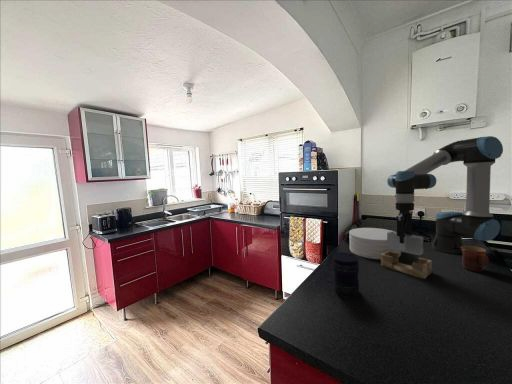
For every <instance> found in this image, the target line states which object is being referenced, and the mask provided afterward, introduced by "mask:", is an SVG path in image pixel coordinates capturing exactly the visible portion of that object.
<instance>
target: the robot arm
mask: <svg viewBox="0 0 512 384" xmlns="http://www.w3.org/2000/svg"><path fill="white" fill-rule="evenodd" d="M503 152H504V146H503V144H502V142H501V140H499V138H497V137H496V136H492V135H491V136H480V137H479V136H478V137H473V138H467V139H461V140H456V141H454V142H451V143H448V144H447V145H445V146H443V147H441V148H439V149H437V150H435V151H434V152H433V153H432V154H431V155H430V156H428V157H426V158H425V159H423V160H421V161H419V162H418V163H416V164H414V165H412V166H411V167H409V168H407V169H405V170H399V171H397V172H395V174H391V175H389V176H388V177H387V180H386V181H387V185H388V187H390V188H394V189H395V194H394V197H395V201H396V202H395V210H396V211H398V215H396V217H395V218H396V232H397V236H399V249H402V250H406V237H405V234H409V235H413V231H412V230H413V229H412V228H413V220H412V219H413V213H412V211H415V203H414V202H415V190H424V189H425V190H427V189H432V188H434V187H435V186H436V184H437V178H436V176H435V175H433V174H431V172H433V171H434V170H437V168H439V167H441V166H446V165H449V164H450V163H451V164H452V163H456V162H462V163H463V164H462V165H464V166H465V167H466V193H465V194H466V195H465V197H466V200H465V210H464V211H463V212H461V211H443V212H441V211H440V212H438V213H436V215H435V237H434V240H433V241H432V247H431V248H432V249H433V250H436V251H439V252H442V253H447V254H454V255H455V254H457V255H458V254H459V255H460V254H461V255H463V254H462V250H461V246H466V245H465V243H464V240H463V237H465V238H470V239H474V240H477V241H484V242H488V241H491V240H494V239H495V238H496V237H497V236H498V235H499V233H500V229H501V224H500V222H499V221H498V220H496V219H494V215H493V214H492V213H491V212H490V201H491V200H490V197H491V196H490V193H491V175H492V174H491V170H492V166H493V165H494V164H496V160H497V159H499V158H501V156H502V154H503Z"/></svg>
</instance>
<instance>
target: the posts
mask: <svg viewBox="0 0 512 384" xmlns="http://www.w3.org/2000/svg"><path fill="white" fill-rule="evenodd" d="M399 258H400V257H398V253H397V252H393V251H386V252H385V253H383V254H381V259H380V267H382V268H386V269H390V270H392V271H396V272H399V273H404V274H406V275H410V276H414V277H417V278H420V279H424V280H426V279H427V278H428V276H429V275H431V274H432V273H433V270H432V269H433V268H432V265H433V264H432V262H433V261H432V260H431V259H427V258H424V257H423V258H422V257H418V258H417V262H415V261H413V262H412V264H411V265H410V264H406V263H403V262H399Z"/></svg>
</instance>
